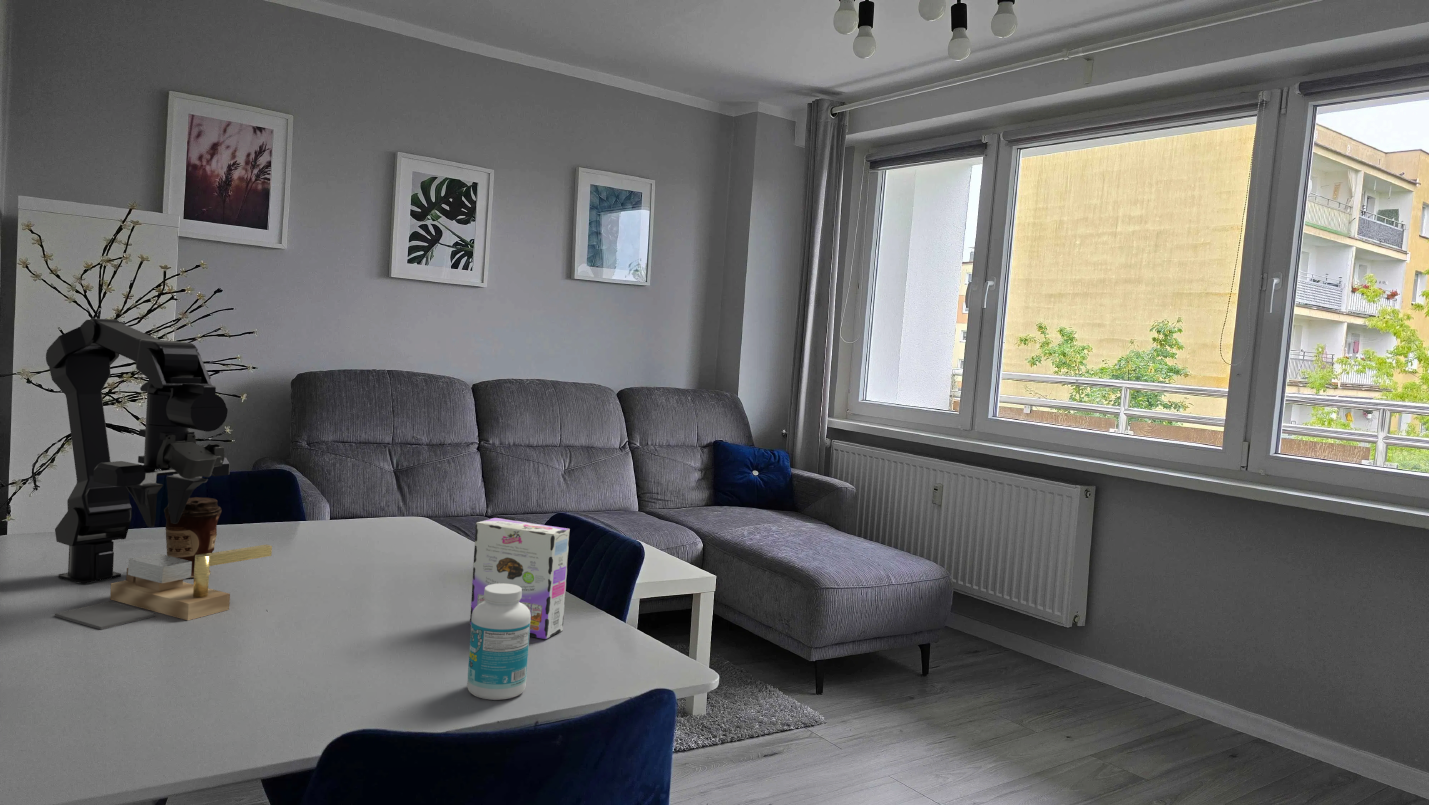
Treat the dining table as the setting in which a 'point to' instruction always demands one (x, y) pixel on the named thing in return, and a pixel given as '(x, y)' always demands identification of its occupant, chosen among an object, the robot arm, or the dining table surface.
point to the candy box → (524, 568)
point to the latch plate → (168, 597)
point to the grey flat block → (159, 568)
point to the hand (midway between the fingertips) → (162, 524)
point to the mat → (104, 615)
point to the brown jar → (193, 530)
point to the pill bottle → (499, 644)
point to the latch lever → (222, 558)
